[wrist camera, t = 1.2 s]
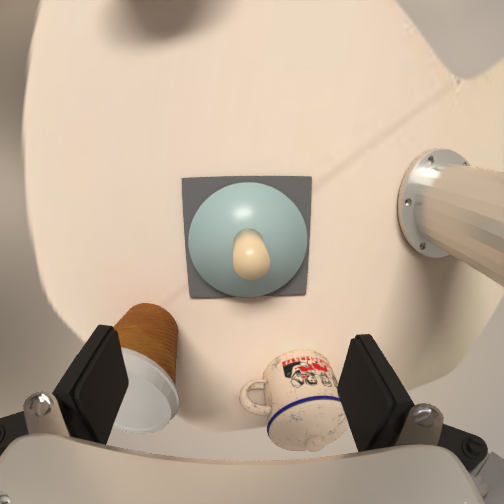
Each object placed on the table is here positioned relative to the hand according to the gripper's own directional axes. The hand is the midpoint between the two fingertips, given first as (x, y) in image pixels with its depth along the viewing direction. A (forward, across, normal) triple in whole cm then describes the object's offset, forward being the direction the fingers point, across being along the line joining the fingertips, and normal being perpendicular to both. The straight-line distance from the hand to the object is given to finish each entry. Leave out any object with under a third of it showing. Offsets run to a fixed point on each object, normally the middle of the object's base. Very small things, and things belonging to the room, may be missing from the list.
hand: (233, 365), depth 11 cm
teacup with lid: (+19, -6, +17) cm, 27 cm away
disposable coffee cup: (+19, +9, +11) cm, 24 cm away
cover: (+18, -1, 0) cm, 18 cm away
